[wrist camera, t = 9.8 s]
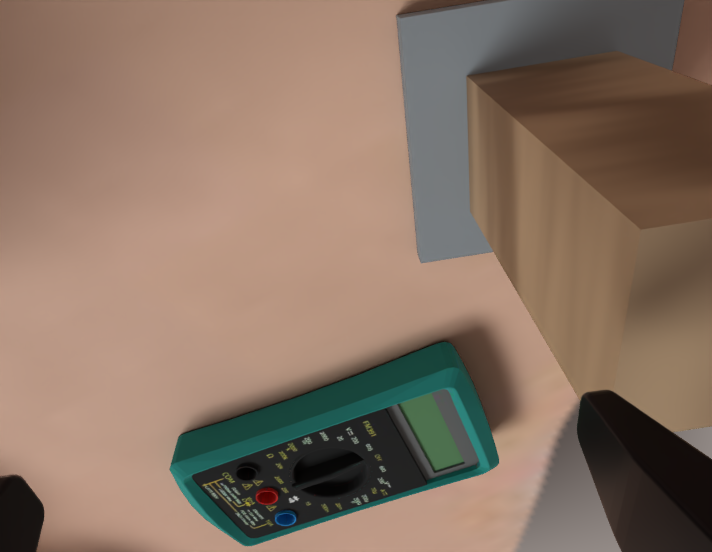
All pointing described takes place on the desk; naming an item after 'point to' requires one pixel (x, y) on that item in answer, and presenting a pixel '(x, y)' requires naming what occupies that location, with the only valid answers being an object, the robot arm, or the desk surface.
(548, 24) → the grey pad
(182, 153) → the desk surface
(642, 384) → the walnut block
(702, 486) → the robot arm
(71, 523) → the desk surface
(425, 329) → the desk surface
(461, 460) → the digital multimeter
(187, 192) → the desk surface
